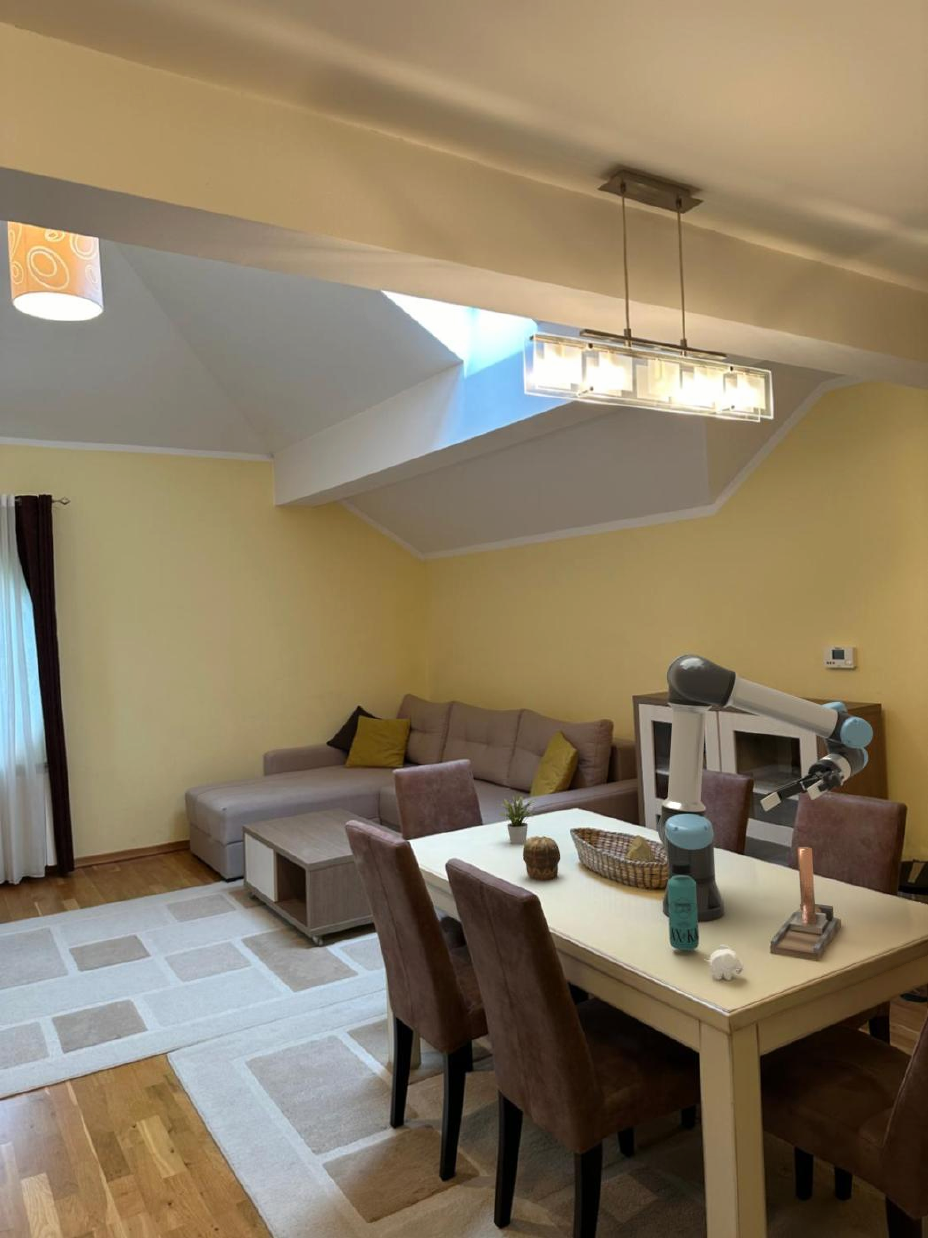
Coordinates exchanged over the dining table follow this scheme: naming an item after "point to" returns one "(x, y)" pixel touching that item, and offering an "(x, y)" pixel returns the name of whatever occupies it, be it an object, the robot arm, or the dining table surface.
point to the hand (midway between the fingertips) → (786, 800)
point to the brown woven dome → (541, 858)
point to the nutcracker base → (805, 937)
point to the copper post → (807, 898)
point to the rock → (640, 850)
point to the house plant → (517, 821)
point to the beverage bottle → (682, 908)
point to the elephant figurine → (724, 963)
